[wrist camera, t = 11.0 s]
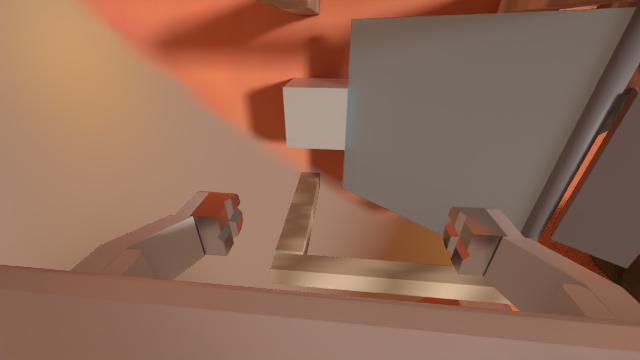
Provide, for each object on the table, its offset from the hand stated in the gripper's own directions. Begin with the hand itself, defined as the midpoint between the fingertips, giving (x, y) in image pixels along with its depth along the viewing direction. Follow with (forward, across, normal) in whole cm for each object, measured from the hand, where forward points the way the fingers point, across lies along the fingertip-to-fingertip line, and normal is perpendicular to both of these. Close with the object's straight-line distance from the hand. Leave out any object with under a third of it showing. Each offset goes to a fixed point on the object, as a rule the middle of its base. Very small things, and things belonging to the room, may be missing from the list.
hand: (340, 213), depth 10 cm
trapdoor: (+9, -8, 0) cm, 13 cm away
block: (+15, 0, 0) cm, 15 cm away
